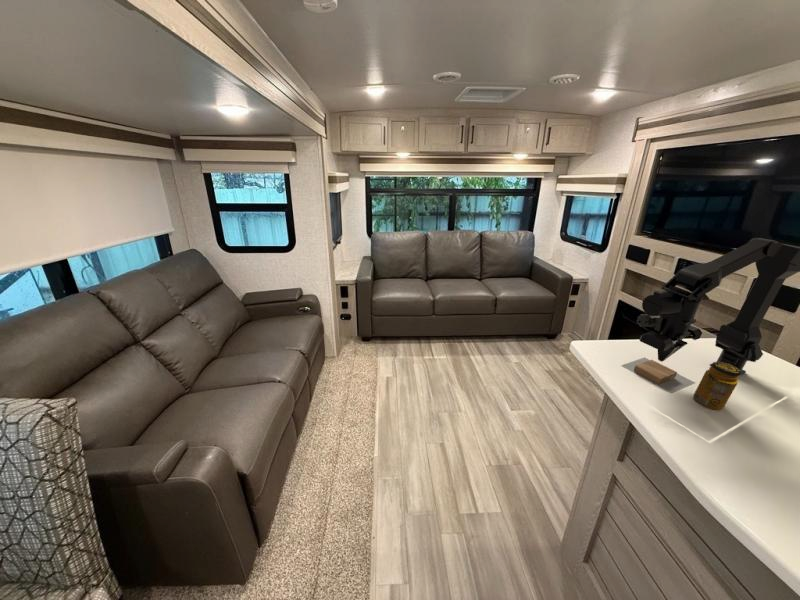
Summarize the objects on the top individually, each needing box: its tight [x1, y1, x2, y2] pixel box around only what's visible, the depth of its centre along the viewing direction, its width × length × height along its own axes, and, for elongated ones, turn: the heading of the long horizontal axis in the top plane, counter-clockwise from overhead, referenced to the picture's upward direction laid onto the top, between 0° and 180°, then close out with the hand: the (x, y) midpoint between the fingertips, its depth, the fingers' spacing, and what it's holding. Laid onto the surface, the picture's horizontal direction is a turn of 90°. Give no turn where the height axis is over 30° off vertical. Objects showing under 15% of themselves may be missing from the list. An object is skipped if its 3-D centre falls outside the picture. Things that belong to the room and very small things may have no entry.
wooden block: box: [634, 359, 678, 384], centre depth 92 cm, size 2×7×8 cm
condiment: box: [692, 361, 741, 411], centre depth 80 cm, size 7×8×12 cm
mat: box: [620, 357, 696, 394], centre depth 93 cm, size 12×14×1 cm
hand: (660, 360), depth 91 cm, fingers closed
